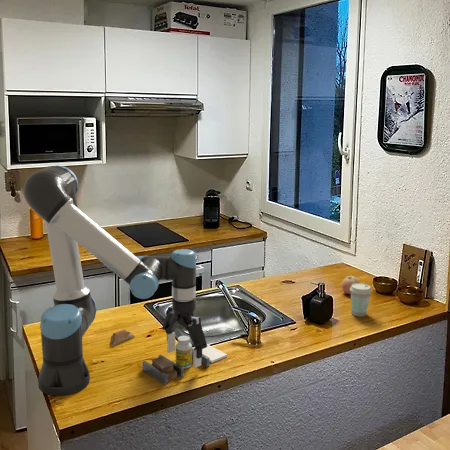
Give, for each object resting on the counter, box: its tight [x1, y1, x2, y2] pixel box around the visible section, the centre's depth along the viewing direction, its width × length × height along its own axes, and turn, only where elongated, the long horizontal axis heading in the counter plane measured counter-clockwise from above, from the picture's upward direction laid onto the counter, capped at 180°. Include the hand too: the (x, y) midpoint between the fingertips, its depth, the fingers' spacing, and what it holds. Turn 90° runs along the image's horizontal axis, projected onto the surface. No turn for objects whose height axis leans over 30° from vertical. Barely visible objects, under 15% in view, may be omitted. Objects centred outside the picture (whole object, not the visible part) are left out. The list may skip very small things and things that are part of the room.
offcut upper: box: [151, 355, 173, 373], centre depth 174 cm, size 4×7×2 cm, turn 33°
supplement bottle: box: [175, 335, 193, 370], centre depth 179 cm, size 5×5×10 cm
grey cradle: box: [141, 347, 210, 386], centre depth 178 cm, size 18×12×3 cm, turn 133°
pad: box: [202, 344, 228, 364], centre depth 188 cm, size 7×10×1 cm
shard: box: [111, 329, 136, 348], centre depth 198 cm, size 11×8×2 cm
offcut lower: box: [150, 363, 178, 382], centre depth 175 cm, size 4×9×2 cm, turn 41°
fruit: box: [341, 275, 360, 296], centre depth 247 cm, size 8×8×8 cm
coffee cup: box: [350, 283, 373, 318], centre depth 224 cm, size 9×8×12 cm
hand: (183, 358), depth 180 cm, fingers open, 13 cm apart
